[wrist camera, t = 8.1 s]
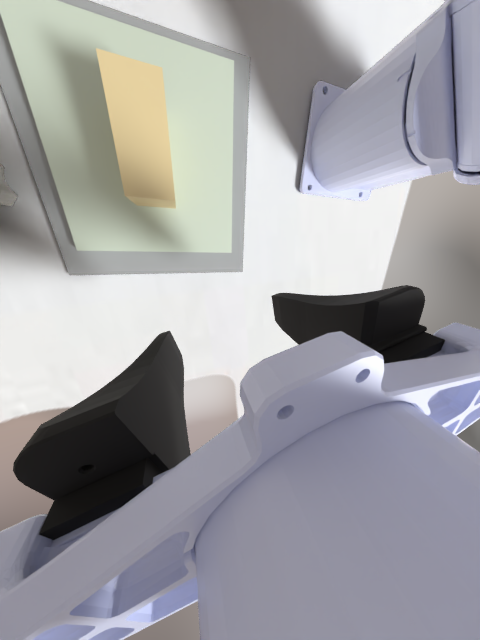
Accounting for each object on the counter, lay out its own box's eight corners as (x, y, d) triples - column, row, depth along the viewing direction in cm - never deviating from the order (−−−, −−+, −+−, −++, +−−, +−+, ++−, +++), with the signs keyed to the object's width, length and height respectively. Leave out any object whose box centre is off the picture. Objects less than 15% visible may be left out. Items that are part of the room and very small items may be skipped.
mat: (248, 62, 14) (250, 57, 13) (241, 271, 20) (242, 271, 20) (-40, -37, 9) (-48, -48, 9) (71, 274, 16) (69, 275, 15)
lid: (231, 69, 13) (253, -1, 9) (229, 252, 19) (243, 256, 15) (2, -5, 10) (-121, -173, 6) (81, 250, 15) (46, 254, 11)
